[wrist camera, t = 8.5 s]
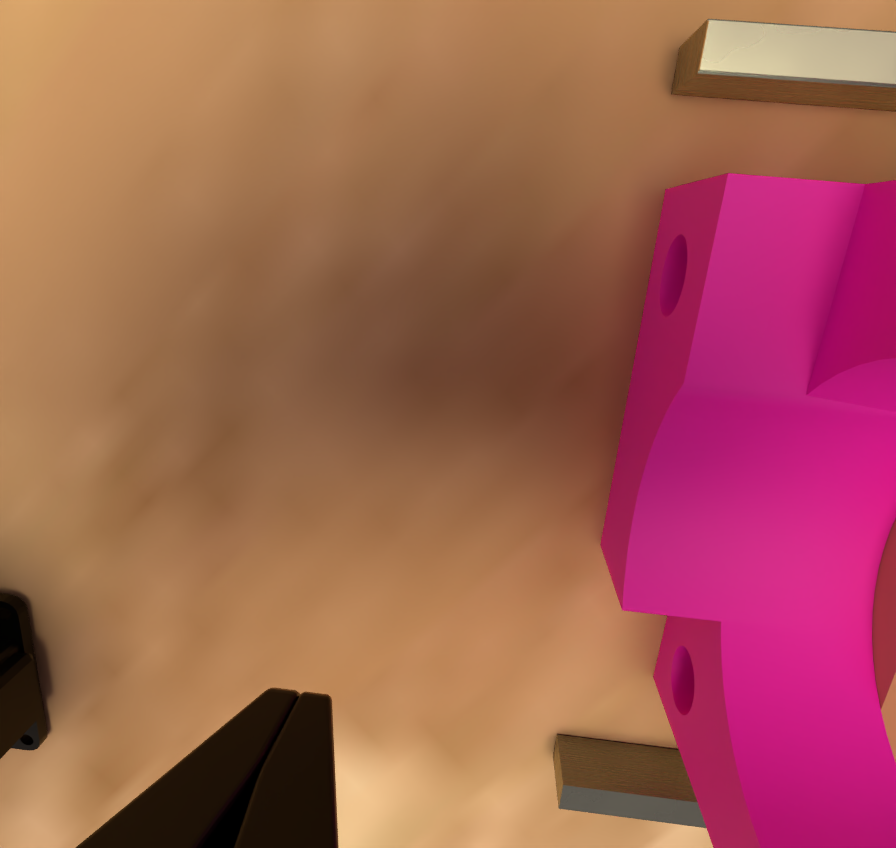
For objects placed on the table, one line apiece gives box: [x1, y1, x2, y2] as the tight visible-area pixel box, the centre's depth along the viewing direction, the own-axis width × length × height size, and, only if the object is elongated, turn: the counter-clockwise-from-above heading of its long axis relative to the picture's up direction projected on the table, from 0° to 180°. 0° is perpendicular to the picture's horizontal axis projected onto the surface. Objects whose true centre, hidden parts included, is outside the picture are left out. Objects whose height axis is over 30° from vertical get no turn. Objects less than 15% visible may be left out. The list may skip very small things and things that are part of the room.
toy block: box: [601, 173, 896, 848], centre depth 14 cm, size 15×6×8 cm, turn 175°
